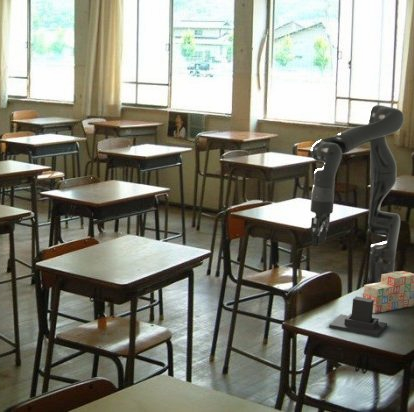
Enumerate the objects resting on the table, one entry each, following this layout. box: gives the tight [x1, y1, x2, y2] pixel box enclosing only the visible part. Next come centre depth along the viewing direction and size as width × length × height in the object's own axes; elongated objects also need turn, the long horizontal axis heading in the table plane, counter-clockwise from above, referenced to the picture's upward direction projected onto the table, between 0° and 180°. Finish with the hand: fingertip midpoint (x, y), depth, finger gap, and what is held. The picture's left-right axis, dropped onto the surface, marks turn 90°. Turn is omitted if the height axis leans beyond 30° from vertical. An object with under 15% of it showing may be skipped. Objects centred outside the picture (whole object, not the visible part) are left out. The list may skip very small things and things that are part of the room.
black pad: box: [351, 296, 374, 323], centre depth 297 cm, size 4×6×9 cm, turn 57°
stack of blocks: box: [362, 270, 414, 314], centre depth 321 cm, size 21×6×12 cm, turn 121°
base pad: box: [328, 313, 388, 338], centre depth 299 cm, size 14×16×3 cm
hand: (318, 244), depth 306 cm, fingers open, 8 cm apart
